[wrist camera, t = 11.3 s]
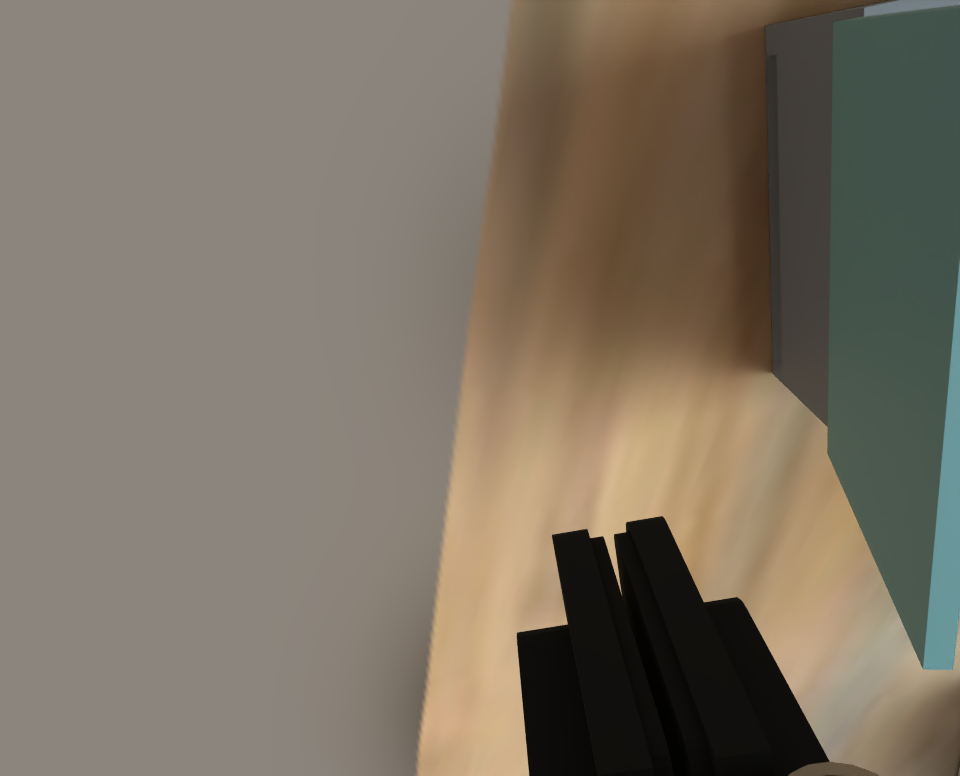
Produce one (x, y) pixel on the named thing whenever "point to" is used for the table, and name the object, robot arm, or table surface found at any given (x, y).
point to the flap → (899, 308)
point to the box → (805, 192)
